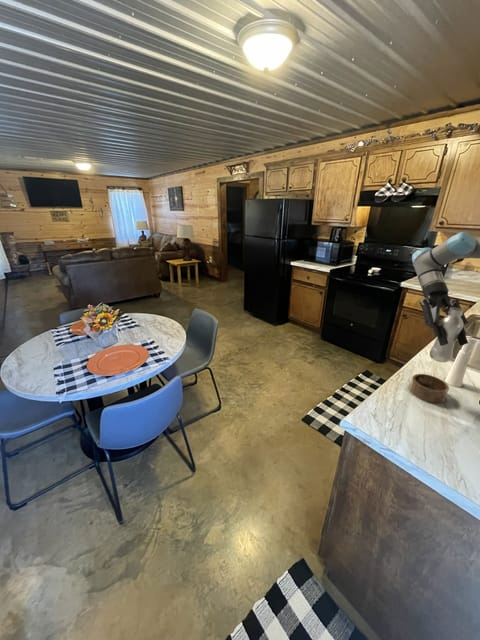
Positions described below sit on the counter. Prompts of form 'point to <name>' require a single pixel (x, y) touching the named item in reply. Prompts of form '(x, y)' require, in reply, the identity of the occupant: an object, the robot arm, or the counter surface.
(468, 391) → the counter surface
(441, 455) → the counter surface
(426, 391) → the holder
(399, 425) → the counter surface
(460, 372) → the cosmetic bottle
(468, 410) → the counter surface
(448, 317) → the plastic bottle
